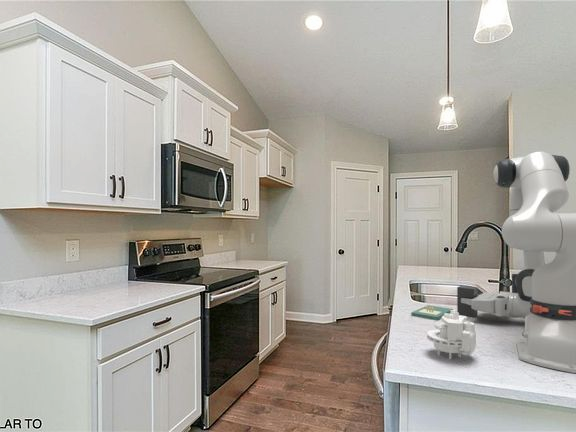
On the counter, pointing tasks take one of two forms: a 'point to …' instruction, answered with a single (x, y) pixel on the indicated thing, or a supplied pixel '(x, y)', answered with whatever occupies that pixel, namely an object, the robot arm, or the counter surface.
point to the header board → (431, 312)
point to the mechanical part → (453, 334)
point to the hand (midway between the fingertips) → (464, 298)
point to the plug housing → (469, 294)
